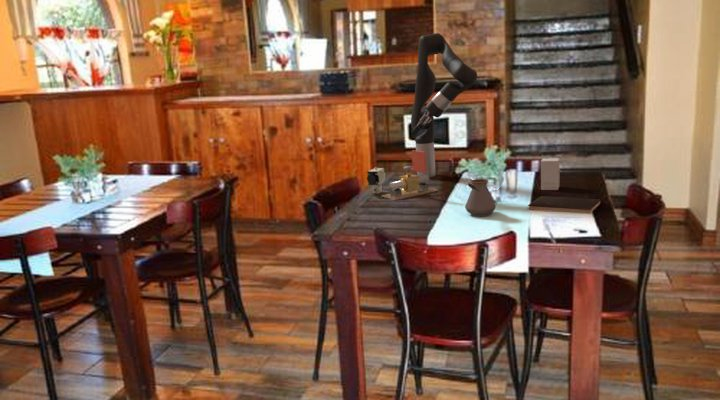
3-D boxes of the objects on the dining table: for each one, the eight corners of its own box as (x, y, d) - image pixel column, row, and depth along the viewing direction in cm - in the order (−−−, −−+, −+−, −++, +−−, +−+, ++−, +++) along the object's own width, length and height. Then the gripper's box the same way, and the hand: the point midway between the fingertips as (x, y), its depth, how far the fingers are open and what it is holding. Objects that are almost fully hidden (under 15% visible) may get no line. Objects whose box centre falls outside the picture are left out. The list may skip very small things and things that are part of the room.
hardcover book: (590, 215, 226) (590, 209, 225) (528, 210, 239) (527, 205, 238) (600, 205, 239) (600, 199, 238) (541, 201, 252) (541, 195, 251)
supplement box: (558, 190, 266) (558, 160, 263) (540, 190, 269) (540, 161, 266) (560, 186, 273) (559, 157, 270) (542, 186, 275) (542, 158, 273)
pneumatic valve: (367, 195, 284) (365, 169, 282) (378, 190, 294) (376, 165, 292) (378, 196, 282) (376, 169, 279) (389, 190, 292) (387, 165, 289)
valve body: (424, 187, 291) (422, 165, 289) (437, 190, 283) (436, 168, 280) (381, 197, 279) (379, 174, 277) (394, 200, 271) (392, 176, 268)
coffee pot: (470, 209, 245) (468, 172, 242) (499, 210, 240) (498, 172, 237) (453, 224, 226) (452, 183, 223) (485, 225, 221) (483, 184, 218)
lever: (402, 170, 279) (400, 149, 277) (409, 169, 281) (408, 148, 279) (421, 174, 267) (420, 152, 265) (429, 172, 269) (428, 151, 267)
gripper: (433, 94, 273) (408, 124, 280) (431, 102, 261) (404, 132, 268) (446, 105, 273) (420, 134, 280) (445, 113, 261) (418, 143, 268)
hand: (413, 133), depth 274 cm, fingers closed
